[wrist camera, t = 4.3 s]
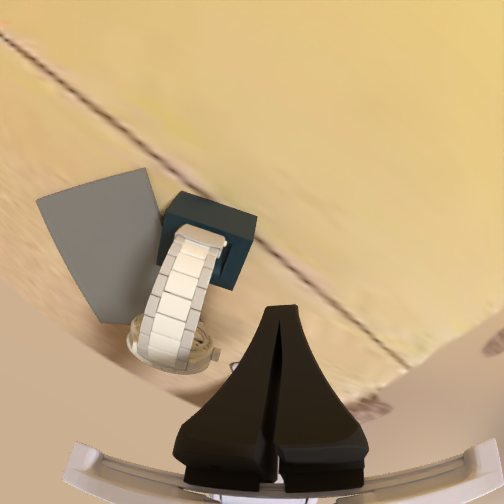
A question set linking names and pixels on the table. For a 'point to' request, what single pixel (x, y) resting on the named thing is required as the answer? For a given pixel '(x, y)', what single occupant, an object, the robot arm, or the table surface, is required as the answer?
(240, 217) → the watch
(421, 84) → the table surface
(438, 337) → the table surface
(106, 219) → the mat
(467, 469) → the robot arm
